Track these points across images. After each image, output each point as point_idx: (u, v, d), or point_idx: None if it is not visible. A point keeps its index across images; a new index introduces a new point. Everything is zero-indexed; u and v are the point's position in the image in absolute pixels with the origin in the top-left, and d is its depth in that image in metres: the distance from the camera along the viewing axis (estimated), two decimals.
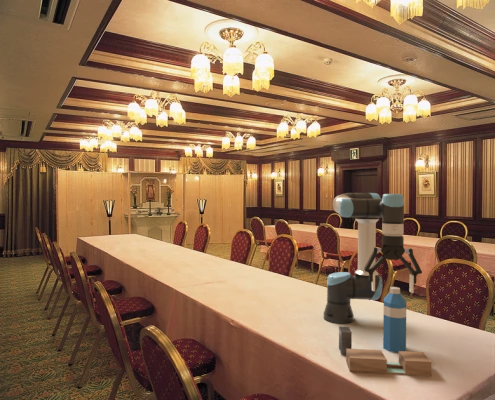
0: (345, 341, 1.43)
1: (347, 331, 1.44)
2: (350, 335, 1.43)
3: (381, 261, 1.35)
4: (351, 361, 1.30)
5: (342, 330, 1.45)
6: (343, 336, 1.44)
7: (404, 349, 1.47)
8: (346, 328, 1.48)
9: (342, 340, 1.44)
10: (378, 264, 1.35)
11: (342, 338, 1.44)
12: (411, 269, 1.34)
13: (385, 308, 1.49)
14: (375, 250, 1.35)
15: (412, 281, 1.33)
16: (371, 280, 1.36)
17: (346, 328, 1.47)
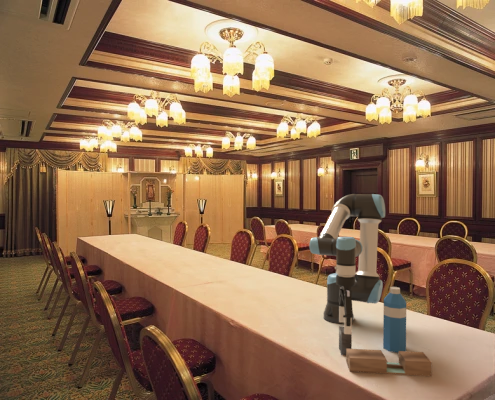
0: (345, 341, 1.43)
1: None
2: (350, 335, 1.43)
3: (340, 296, 1.51)
4: (351, 361, 1.30)
5: (342, 330, 1.45)
6: (343, 336, 1.44)
7: (404, 349, 1.47)
8: None
9: (342, 340, 1.44)
10: (340, 299, 1.52)
11: (342, 338, 1.44)
12: (344, 310, 1.40)
13: (385, 308, 1.49)
14: (339, 285, 1.53)
15: (344, 322, 1.40)
16: None
17: None
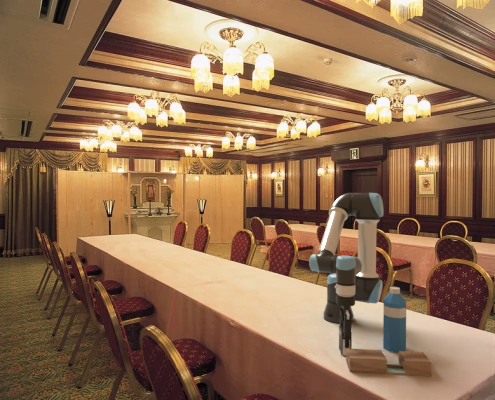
0: None
1: None
2: None
3: (341, 318, 1.49)
4: (351, 361, 1.30)
5: (342, 330, 1.46)
6: (343, 336, 1.44)
7: (404, 349, 1.47)
8: None
9: (342, 340, 1.44)
10: (340, 321, 1.50)
11: None
12: (343, 332, 1.43)
13: (385, 308, 1.49)
14: (339, 307, 1.53)
15: (343, 344, 1.43)
16: None
17: None
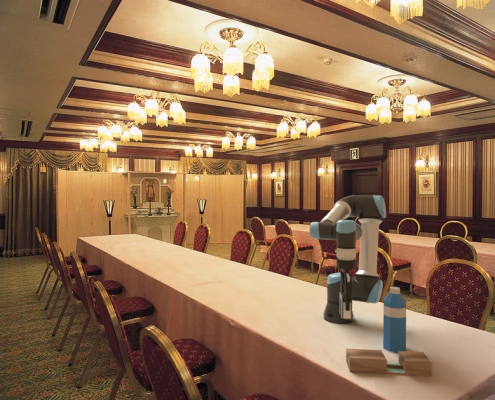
0: None
1: None
2: None
3: (341, 283, 1.49)
4: (351, 361, 1.30)
5: (343, 294, 1.45)
6: None
7: (404, 349, 1.47)
8: None
9: (343, 304, 1.43)
10: (341, 286, 1.50)
11: (343, 302, 1.43)
12: (344, 295, 1.43)
13: (385, 308, 1.49)
14: (340, 272, 1.52)
15: (343, 307, 1.43)
16: None
17: None
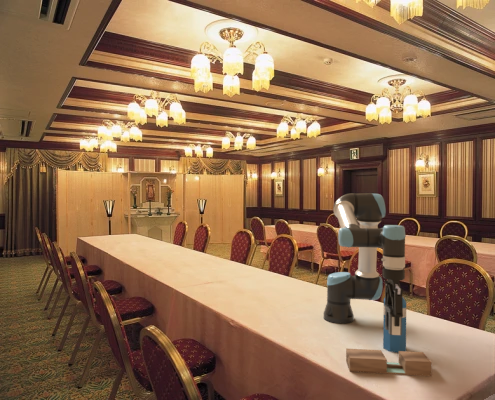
0: None
1: None
2: None
3: (387, 295, 1.35)
4: (351, 361, 1.30)
5: (390, 307, 1.31)
6: (392, 314, 1.29)
7: (404, 349, 1.47)
8: None
9: (391, 318, 1.29)
10: (387, 298, 1.35)
11: None
12: (393, 309, 1.28)
13: None
14: (385, 283, 1.38)
15: (392, 322, 1.28)
16: None
17: None
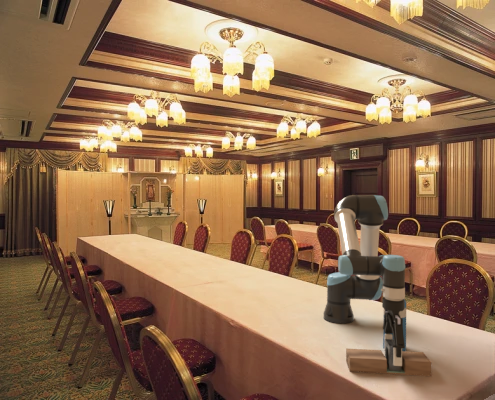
0: None
1: None
2: None
3: (386, 322, 1.36)
4: (351, 361, 1.30)
5: (390, 343, 1.31)
6: (392, 350, 1.29)
7: (404, 349, 1.47)
8: None
9: (390, 355, 1.29)
10: (386, 325, 1.37)
11: (390, 352, 1.29)
12: (394, 339, 1.27)
13: None
14: (385, 309, 1.38)
15: (393, 352, 1.26)
16: None
17: (393, 341, 1.33)
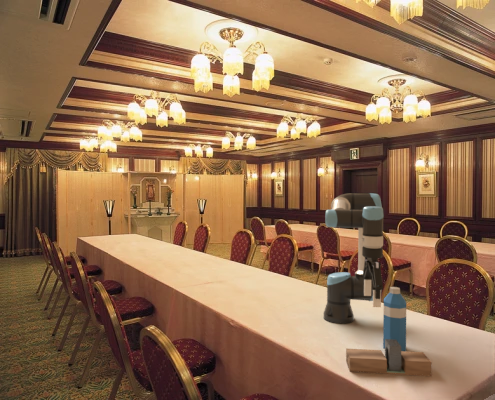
0: (394, 356, 1.29)
1: (396, 345, 1.29)
2: (399, 349, 1.29)
3: (366, 269, 1.44)
4: (351, 361, 1.30)
5: (390, 343, 1.31)
6: (392, 350, 1.29)
7: (404, 349, 1.47)
8: (394, 341, 1.33)
9: (390, 355, 1.29)
10: (365, 271, 1.45)
11: (390, 352, 1.29)
12: (373, 283, 1.34)
13: (385, 308, 1.49)
14: (365, 258, 1.46)
15: (373, 295, 1.33)
16: None
17: (393, 341, 1.33)
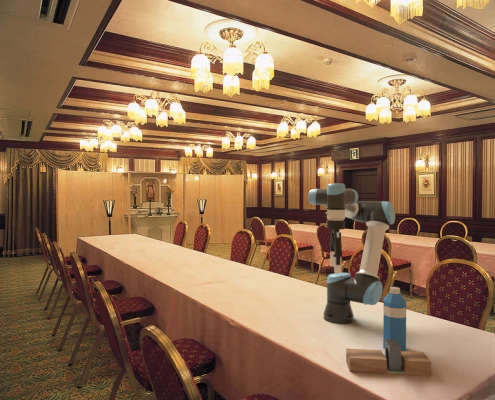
0: (394, 356, 1.29)
1: (396, 345, 1.29)
2: (399, 349, 1.29)
3: (331, 241, 1.59)
4: (351, 361, 1.30)
5: (390, 343, 1.31)
6: (392, 350, 1.29)
7: (404, 349, 1.47)
8: (394, 341, 1.33)
9: (390, 355, 1.29)
10: (331, 244, 1.60)
11: (390, 352, 1.29)
12: (334, 251, 1.48)
13: (385, 308, 1.49)
14: None
15: (334, 262, 1.48)
16: None
17: (393, 341, 1.33)
